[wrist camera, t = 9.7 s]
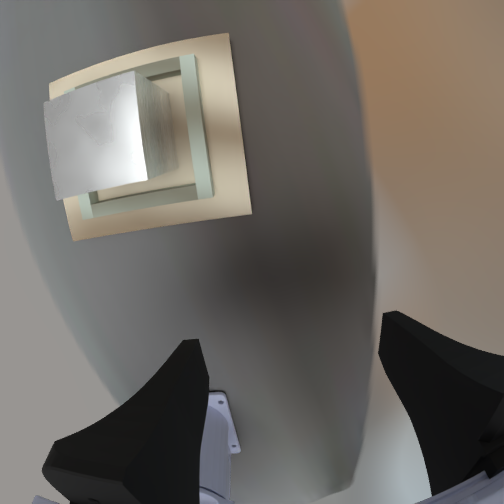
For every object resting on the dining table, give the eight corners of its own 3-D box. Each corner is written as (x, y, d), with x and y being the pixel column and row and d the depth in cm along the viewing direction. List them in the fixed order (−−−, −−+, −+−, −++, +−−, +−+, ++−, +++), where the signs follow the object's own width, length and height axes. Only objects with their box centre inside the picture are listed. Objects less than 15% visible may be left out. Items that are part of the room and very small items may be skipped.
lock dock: (251, 209, 19) (252, 218, 17) (81, 236, 19) (64, 247, 17) (229, 39, 15) (227, 25, 13) (58, 85, 15) (39, 81, 13)
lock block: (178, 168, 17) (147, 179, 11) (109, 182, 17) (56, 200, 11) (169, 93, 15) (134, 70, 10) (99, 111, 15) (43, 102, 10)
